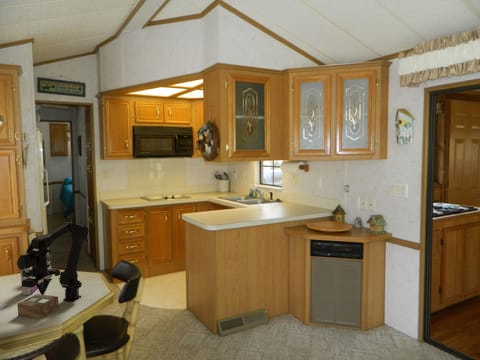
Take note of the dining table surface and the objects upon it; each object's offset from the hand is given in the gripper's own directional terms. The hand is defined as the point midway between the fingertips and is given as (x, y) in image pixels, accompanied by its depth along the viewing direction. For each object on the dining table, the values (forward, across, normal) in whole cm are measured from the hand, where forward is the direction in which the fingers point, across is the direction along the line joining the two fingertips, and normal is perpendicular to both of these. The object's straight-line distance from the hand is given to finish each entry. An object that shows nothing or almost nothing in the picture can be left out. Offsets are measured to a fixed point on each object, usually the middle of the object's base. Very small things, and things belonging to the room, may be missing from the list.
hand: (42, 294), depth 183 cm
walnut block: (+9, 0, -3) cm, 10 cm away
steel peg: (+9, 0, -6) cm, 11 cm away
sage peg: (+9, 0, 0) cm, 9 cm away
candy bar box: (+9, -20, -28) cm, 36 cm away
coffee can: (+9, -38, -37) cm, 54 cm away
